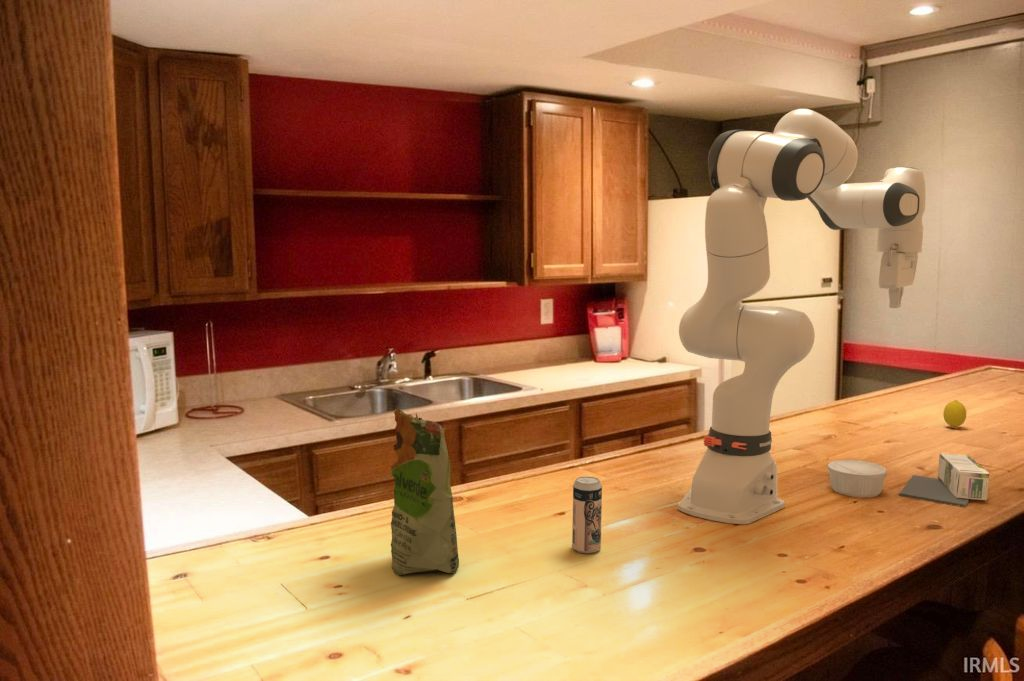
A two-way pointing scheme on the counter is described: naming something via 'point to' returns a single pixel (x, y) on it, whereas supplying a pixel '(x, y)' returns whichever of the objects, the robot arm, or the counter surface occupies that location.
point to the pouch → (422, 499)
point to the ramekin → (856, 478)
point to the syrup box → (963, 476)
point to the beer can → (587, 515)
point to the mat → (930, 491)
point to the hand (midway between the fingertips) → (894, 307)
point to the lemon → (954, 413)
